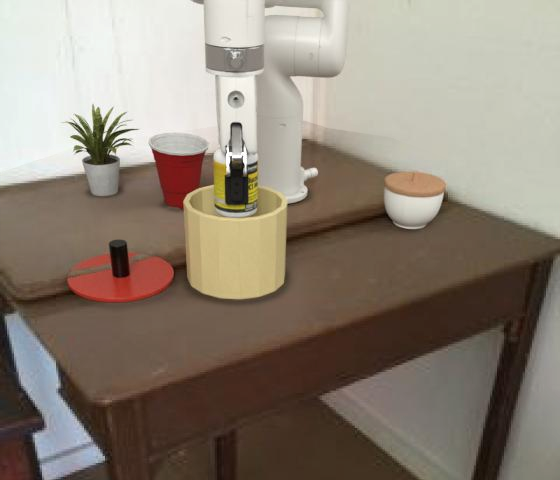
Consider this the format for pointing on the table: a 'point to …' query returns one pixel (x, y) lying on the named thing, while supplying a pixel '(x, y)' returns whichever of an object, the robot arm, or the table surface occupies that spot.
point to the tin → (235, 246)
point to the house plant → (100, 152)
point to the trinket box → (413, 198)
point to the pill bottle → (219, 186)
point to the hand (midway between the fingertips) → (236, 193)
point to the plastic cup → (178, 164)
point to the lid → (122, 276)
